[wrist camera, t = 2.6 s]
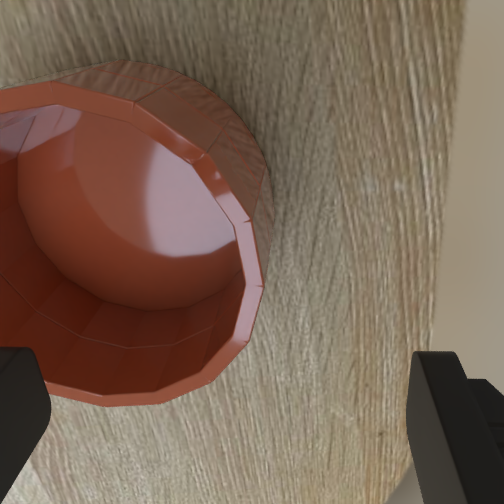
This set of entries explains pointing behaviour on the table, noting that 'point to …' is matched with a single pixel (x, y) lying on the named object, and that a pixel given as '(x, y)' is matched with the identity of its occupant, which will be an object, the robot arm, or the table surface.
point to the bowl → (129, 231)
